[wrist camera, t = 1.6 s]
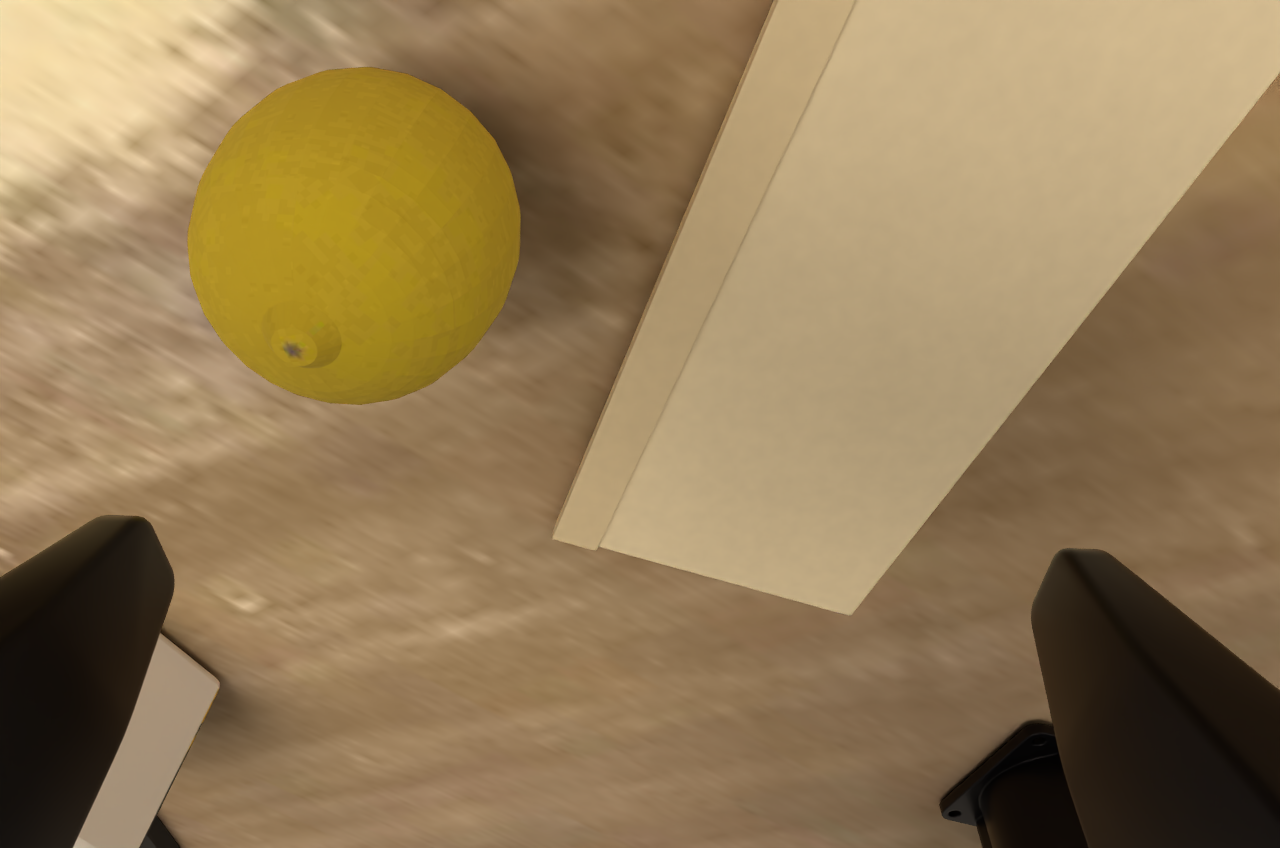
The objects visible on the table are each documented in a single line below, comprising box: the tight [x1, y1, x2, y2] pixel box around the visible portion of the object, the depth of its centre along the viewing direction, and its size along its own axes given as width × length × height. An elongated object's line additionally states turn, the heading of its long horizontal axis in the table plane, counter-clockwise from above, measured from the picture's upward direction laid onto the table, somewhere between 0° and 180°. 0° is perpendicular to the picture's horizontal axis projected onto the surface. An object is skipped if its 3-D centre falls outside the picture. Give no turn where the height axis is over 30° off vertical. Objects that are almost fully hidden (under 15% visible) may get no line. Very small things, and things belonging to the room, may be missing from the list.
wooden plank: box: [552, 0, 1280, 616], centre depth 20 cm, size 22×10×1 cm, turn 160°
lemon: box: [188, 67, 521, 405], centre depth 16 cm, size 6×6×8 cm
